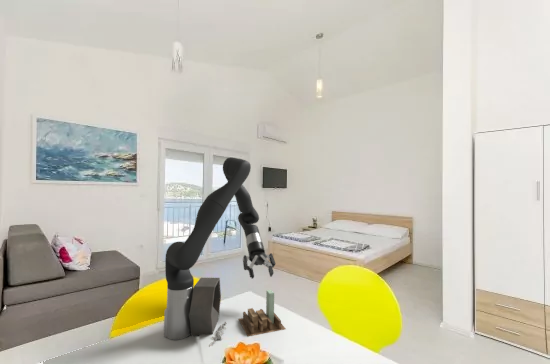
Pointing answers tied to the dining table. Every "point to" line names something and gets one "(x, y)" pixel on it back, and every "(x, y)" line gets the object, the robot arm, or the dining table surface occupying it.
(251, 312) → the offcut
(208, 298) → the planter
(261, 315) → the offcut
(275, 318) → the rack
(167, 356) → the dining table surface
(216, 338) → the white statue
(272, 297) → the pale green block
